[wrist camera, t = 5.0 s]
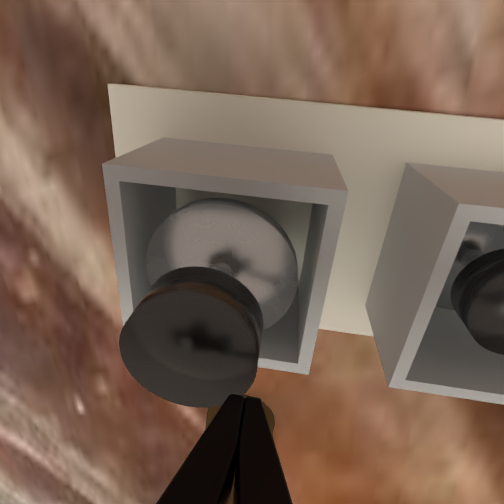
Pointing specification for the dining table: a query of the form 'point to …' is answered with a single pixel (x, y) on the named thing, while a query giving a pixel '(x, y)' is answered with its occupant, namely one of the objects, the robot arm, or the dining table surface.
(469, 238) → the plunger
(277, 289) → the plunger
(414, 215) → the board
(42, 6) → the dining table surface
